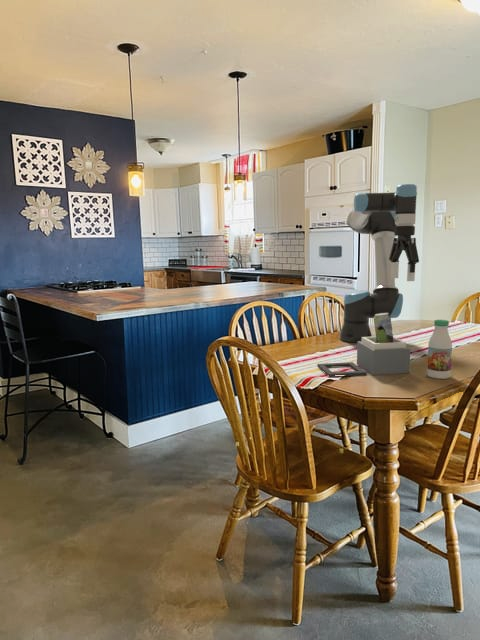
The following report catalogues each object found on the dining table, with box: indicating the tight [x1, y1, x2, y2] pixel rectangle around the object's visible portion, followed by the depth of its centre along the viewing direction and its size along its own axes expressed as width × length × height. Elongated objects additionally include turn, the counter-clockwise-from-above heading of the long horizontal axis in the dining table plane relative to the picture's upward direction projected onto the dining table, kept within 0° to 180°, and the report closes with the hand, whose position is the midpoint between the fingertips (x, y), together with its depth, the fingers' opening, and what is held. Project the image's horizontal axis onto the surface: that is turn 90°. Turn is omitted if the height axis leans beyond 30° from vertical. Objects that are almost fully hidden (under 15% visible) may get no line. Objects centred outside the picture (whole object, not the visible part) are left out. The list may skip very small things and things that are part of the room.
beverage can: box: [373, 313, 394, 343], centre depth 174 cm, size 6×7×12 cm
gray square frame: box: [316, 361, 368, 377], centre depth 175 cm, size 14×14×1 cm
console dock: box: [356, 336, 412, 376], centre depth 176 cm, size 15×14×11 cm
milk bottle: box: [426, 319, 453, 380], centre depth 164 cm, size 8×8×20 cm
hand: (402, 279), depth 188 cm, fingers open, 13 cm apart
